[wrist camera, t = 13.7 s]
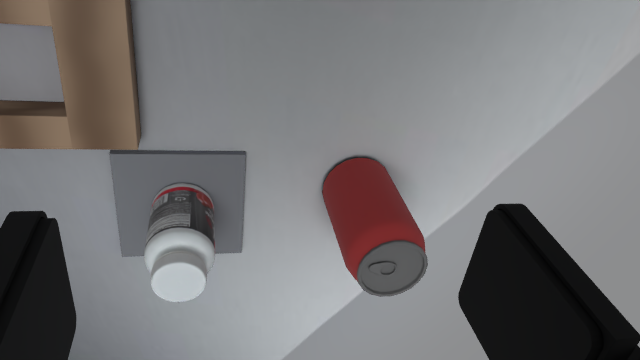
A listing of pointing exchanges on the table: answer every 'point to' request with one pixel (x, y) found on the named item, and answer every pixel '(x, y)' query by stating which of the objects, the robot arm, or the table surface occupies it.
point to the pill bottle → (180, 242)
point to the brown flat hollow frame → (79, 78)
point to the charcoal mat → (172, 168)
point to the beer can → (374, 228)
